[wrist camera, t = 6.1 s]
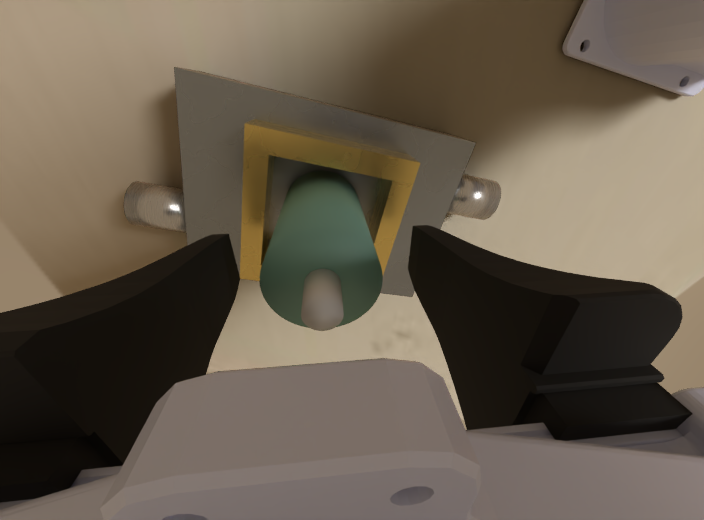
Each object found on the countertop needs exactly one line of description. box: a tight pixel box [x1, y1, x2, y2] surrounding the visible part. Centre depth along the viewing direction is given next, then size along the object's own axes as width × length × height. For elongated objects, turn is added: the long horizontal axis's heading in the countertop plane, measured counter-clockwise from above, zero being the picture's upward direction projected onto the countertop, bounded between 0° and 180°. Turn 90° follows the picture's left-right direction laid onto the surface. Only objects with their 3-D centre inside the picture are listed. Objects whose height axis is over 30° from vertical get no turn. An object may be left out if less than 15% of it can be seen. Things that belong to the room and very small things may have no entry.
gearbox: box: [124, 67, 501, 297], centre depth 16 cm, size 20×10×5 cm, turn 77°
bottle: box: [260, 170, 383, 331], centre depth 12 cm, size 4×4×8 cm
